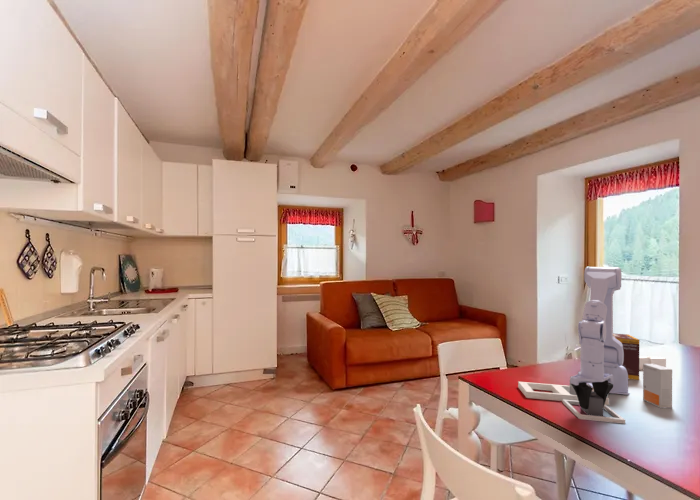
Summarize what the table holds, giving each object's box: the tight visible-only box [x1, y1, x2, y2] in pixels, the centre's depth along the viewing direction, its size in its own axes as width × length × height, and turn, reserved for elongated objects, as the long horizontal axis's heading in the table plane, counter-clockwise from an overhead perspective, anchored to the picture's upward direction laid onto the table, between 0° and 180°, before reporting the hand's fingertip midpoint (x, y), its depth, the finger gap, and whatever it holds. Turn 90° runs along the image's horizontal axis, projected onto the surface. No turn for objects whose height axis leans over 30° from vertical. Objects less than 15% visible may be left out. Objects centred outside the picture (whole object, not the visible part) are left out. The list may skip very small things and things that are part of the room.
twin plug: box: [569, 382, 590, 395], centre depth 115 cm, size 4×4×6 cm
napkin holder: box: [639, 355, 667, 371], centre depth 148 cm, size 15×11×6 cm
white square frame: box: [562, 399, 626, 424], centre depth 103 cm, size 12×12×1 cm
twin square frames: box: [517, 381, 610, 406], centre depth 116 cm, size 24×10×2 cm, turn 79°
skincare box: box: [642, 364, 673, 409], centre depth 111 cm, size 6×4×12 cm
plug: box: [580, 391, 604, 417], centre depth 103 cm, size 4×4×6 cm
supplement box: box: [613, 332, 640, 381], centre depth 141 cm, size 10×15×16 cm
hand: (591, 406), depth 103 cm, fingers closed on plug, 5 cm apart
